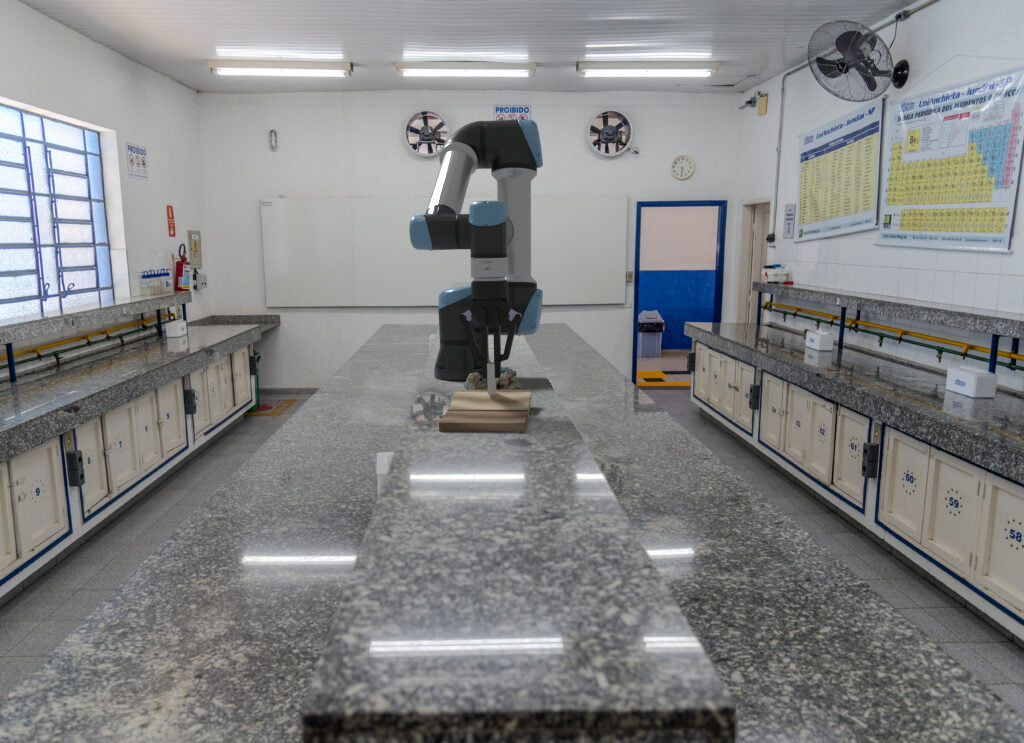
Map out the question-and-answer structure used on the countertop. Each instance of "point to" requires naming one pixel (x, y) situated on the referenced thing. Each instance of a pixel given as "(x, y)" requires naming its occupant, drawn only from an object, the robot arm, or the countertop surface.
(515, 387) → the mineral specimen
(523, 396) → the board
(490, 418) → the floor board
